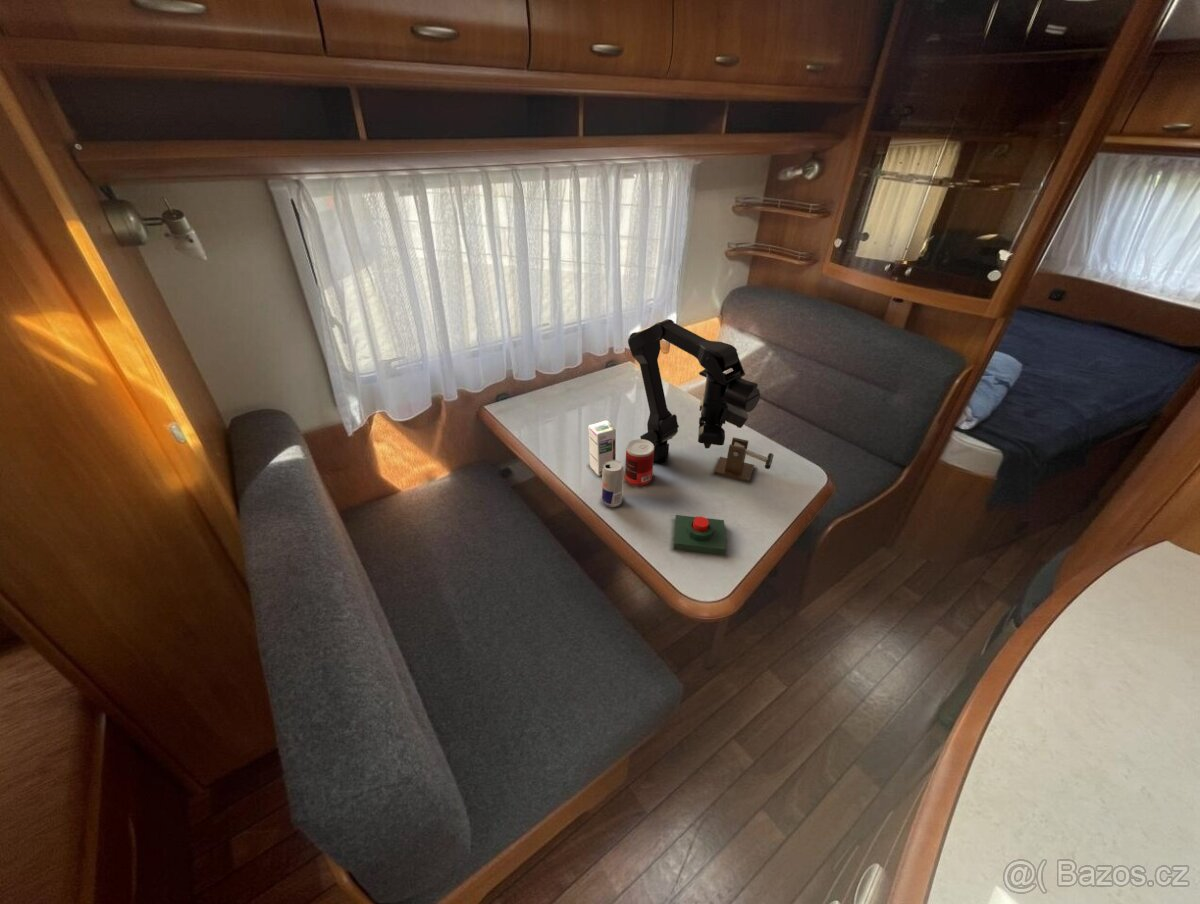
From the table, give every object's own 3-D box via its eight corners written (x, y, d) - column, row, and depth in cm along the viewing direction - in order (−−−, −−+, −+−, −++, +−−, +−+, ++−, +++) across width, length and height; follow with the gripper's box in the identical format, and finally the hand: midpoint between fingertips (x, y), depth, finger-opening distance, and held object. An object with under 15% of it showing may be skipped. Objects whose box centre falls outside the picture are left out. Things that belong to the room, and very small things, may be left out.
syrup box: (598, 476, 137) (598, 434, 129) (589, 465, 142) (588, 424, 133) (615, 471, 140) (616, 429, 131) (606, 460, 144) (606, 419, 136)
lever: (771, 459, 136) (775, 453, 134) (768, 471, 131) (771, 464, 130) (734, 444, 138) (736, 438, 137) (729, 455, 134) (732, 449, 132)
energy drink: (601, 495, 131) (601, 459, 124) (620, 494, 131) (621, 458, 124) (603, 508, 126) (603, 472, 119) (623, 507, 127) (624, 471, 120)
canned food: (654, 473, 139) (657, 441, 133) (648, 489, 133) (650, 457, 126) (629, 467, 141) (630, 436, 135) (621, 484, 135) (622, 452, 128)
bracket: (753, 468, 141) (759, 440, 135) (748, 483, 135) (754, 455, 129) (719, 459, 144) (724, 432, 139) (713, 474, 138) (718, 446, 133)
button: (692, 531, 114) (693, 525, 113) (692, 521, 117) (693, 515, 116) (708, 533, 114) (709, 527, 113) (707, 522, 117) (708, 517, 116)
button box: (673, 549, 114) (674, 537, 112) (674, 521, 122) (676, 509, 120) (724, 555, 113) (726, 543, 110) (722, 526, 121) (725, 514, 118)
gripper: (751, 418, 109) (739, 472, 118) (747, 381, 124) (736, 432, 133) (702, 413, 111) (694, 467, 120) (703, 377, 126) (696, 427, 135)
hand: (707, 447), depth 127 cm, fingers closed
